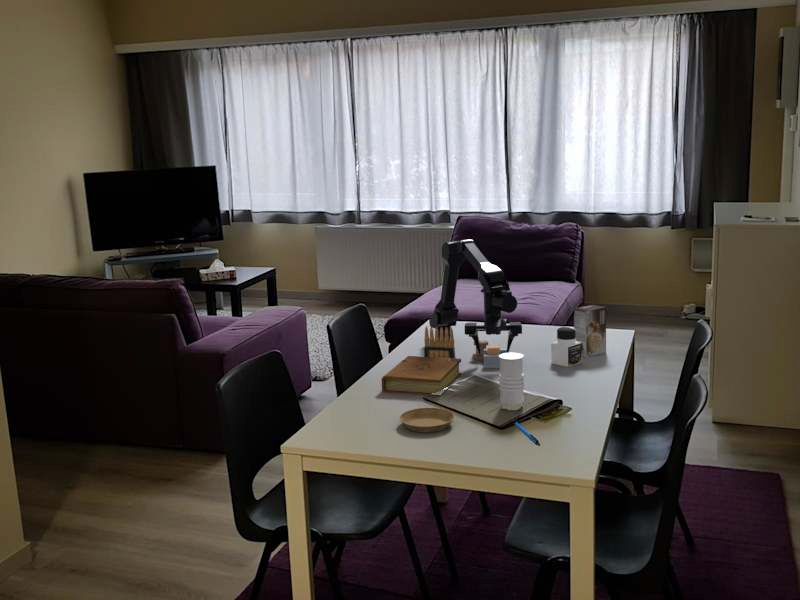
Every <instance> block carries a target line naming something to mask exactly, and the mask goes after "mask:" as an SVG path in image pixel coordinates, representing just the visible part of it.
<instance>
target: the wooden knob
mask: <svg viewBox="0 0 800 600" xmlns="http://www.w3.org/2000/svg"><path fill="white" fill-rule="evenodd" d="M479 343H480V354H479V352H478V349H477V346H476V344H475V342H474V341H473V346H475V353H473V354H472V355H471V356H472V359H473V360H476V361H484V349H487V345H489V341H488V340H483V339H482V340H481V339H479Z"/></svg>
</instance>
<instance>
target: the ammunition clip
mask: <svg viewBox="0 0 800 600" xmlns="http://www.w3.org/2000/svg"><path fill="white" fill-rule="evenodd" d="M423 340H424V342H423V343H424V345H423V346H424V349H423V352H424V353H423V354H424V355H423V357H438V358H456V349H455V348H456V347H455V339H454V330H453V326H451V329H450V339H449V336H448V329H447V327H446V329H445V339H444V335H443V329H442V327H441V328H440V339H439V335H438V328H437V327H436V328H432V326H431V327H429V329H428V326H427V325H426V326H425V328H424V339H423ZM434 342H435V344H434Z"/></svg>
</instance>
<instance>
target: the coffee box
mask: <svg viewBox="0 0 800 600" xmlns="http://www.w3.org/2000/svg"><path fill="white" fill-rule="evenodd" d="M573 328H574V329H575V330H576V340H575V341H578V342H581V343H582V357H585V358H588V357H593V356H597V355H602V354H605V353H607V307H606V306H601V305H598V304H597V305H596V304H589V305H583V306H579V307H574V308H573Z"/></svg>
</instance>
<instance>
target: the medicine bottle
mask: <svg viewBox="0 0 800 600" xmlns="http://www.w3.org/2000/svg"><path fill="white" fill-rule="evenodd" d="M575 340H576V330H575V329H574V327H572V326H561V327H558V328H557V329H556V341H554V342H551V344H550V345H551V346H550V348H551V351H550V352H551V357H550V358H551V364H552V365H557V366H561V367H566V368H571V367H573V366H576V365H579V364H581V363H583V362H582V361H583V359H582V357H583V356H582V343H581V342H578V341H575Z"/></svg>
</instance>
